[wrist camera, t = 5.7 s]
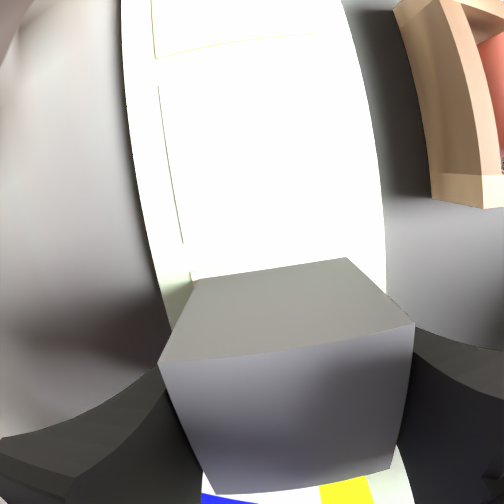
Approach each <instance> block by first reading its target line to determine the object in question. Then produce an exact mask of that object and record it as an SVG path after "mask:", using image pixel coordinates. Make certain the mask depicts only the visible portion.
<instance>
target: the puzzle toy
mask: <svg viewBox="0 0 504 504" xmlns="http://www.w3.org/2000/svg"><path fill="white" fill-rule="evenodd" d="M201 504H374V502H373V499H372V496H371V492H370V489H369V486H368V483H367V480H366V477H365V476H361V477H357V478H353V479H349V480H345V481H340V482H335V483H331V484H325V485H320V486H314V487H308V488H302V489H295V490H287V491H278V492H268V493H255V494H236V495H216V494H215V492H214V491H213V489H212V487H211V485H210V483H209V481H208V479H207V477H206V475H205V473H204V471H203V479H202V494H201Z"/></svg>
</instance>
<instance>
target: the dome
mask: <svg viewBox="0 0 504 504" xmlns="http://www.w3.org/2000/svg"><path fill="white" fill-rule="evenodd" d="M476 46H477V49H478V52H479V55H480V59H481V62H482V65H483V69H484V72H485V76H486V80H487V84H488V88H489V92H490V97H491V101H492V106H493V111H494V117H495V122H496V128H497V135H498V142H499V150H500V158H504V32H502V33H500V34H498V35H496V36H493V37H491V38H489V39H487V40H485V41H483V42H481V43H478V44H476Z"/></svg>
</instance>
